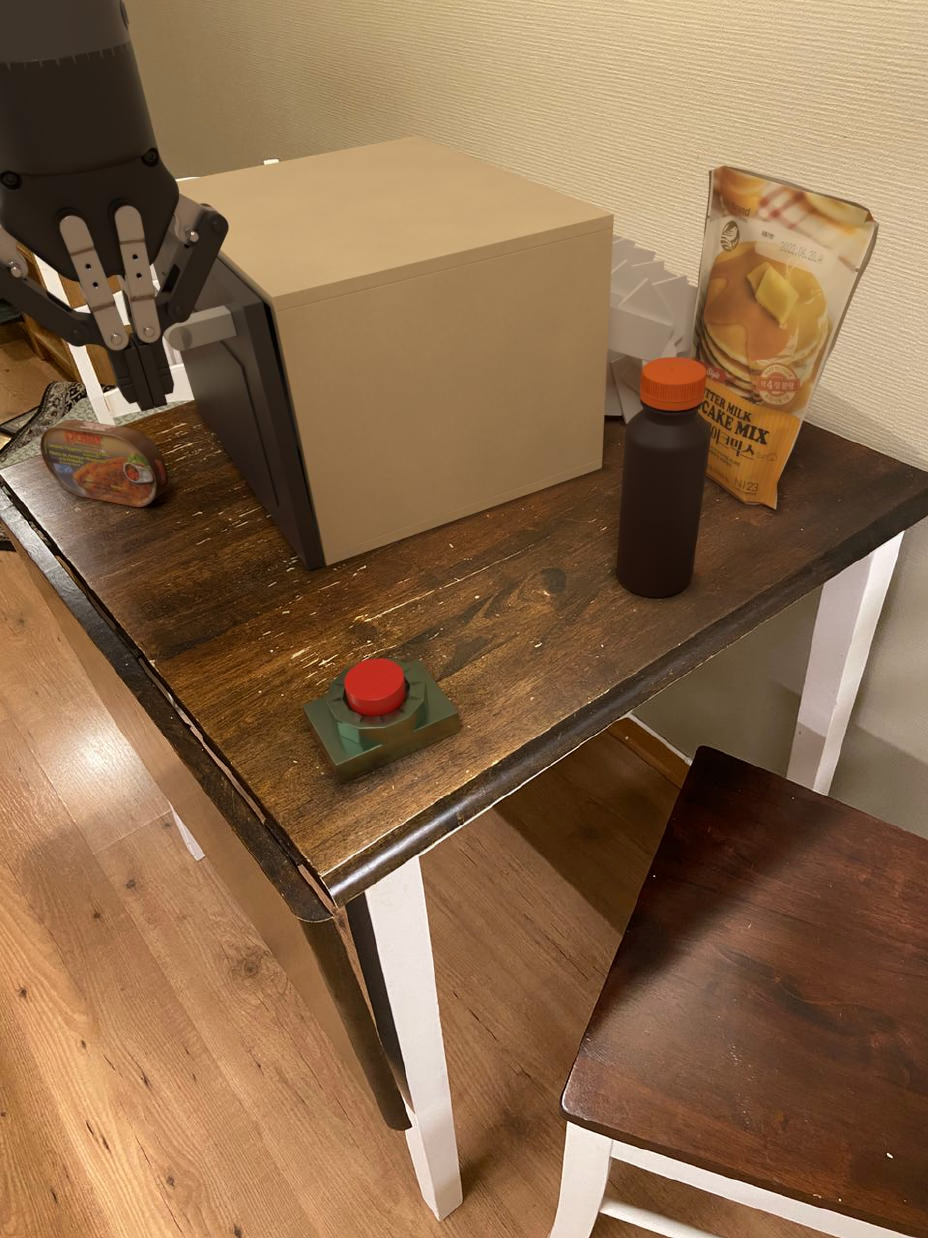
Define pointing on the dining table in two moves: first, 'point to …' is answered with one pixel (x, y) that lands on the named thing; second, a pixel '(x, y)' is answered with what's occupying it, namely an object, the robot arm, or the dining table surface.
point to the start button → (375, 687)
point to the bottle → (663, 479)
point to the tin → (104, 462)
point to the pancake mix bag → (769, 316)
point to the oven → (422, 329)
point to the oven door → (243, 395)
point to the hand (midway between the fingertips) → (150, 403)
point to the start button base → (380, 724)
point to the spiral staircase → (643, 322)
